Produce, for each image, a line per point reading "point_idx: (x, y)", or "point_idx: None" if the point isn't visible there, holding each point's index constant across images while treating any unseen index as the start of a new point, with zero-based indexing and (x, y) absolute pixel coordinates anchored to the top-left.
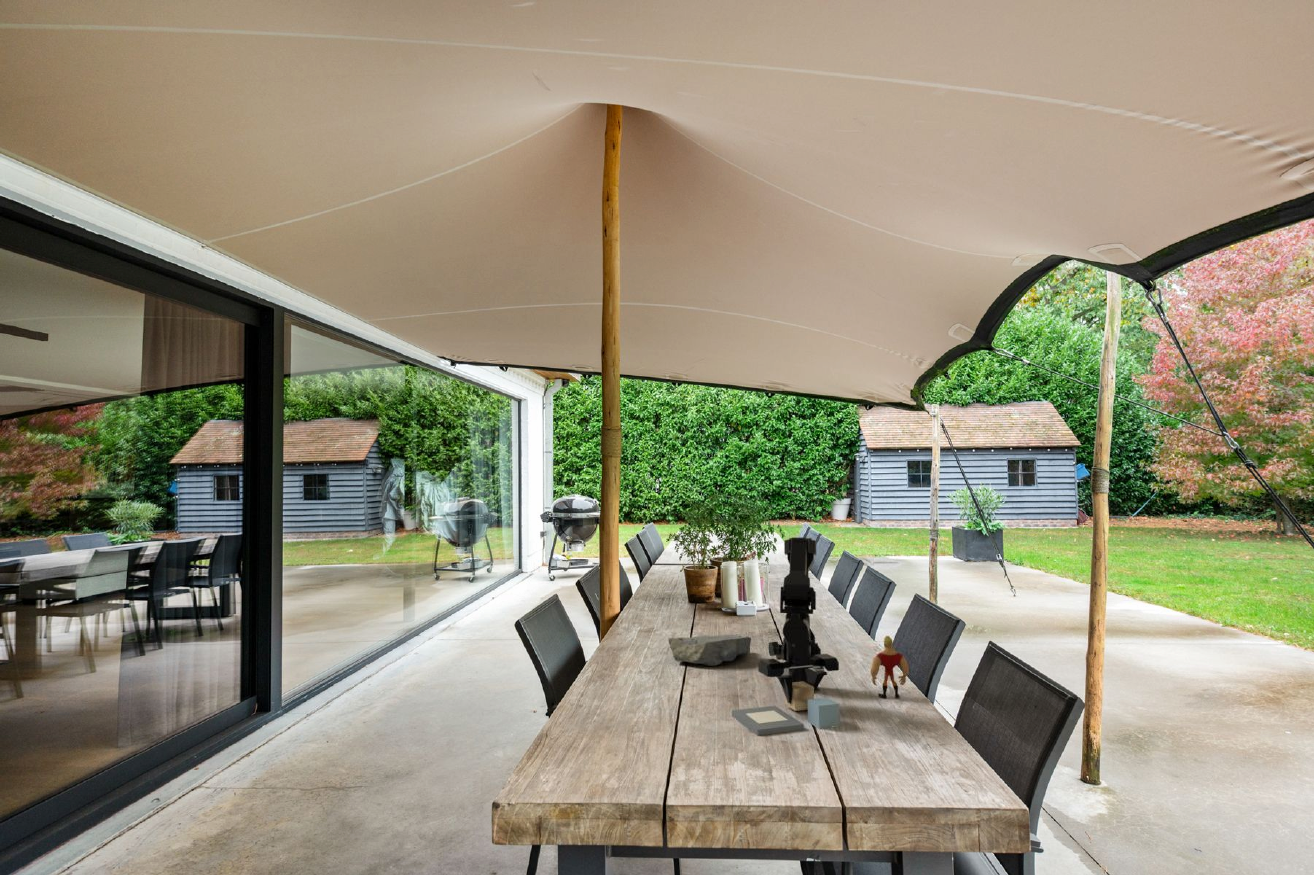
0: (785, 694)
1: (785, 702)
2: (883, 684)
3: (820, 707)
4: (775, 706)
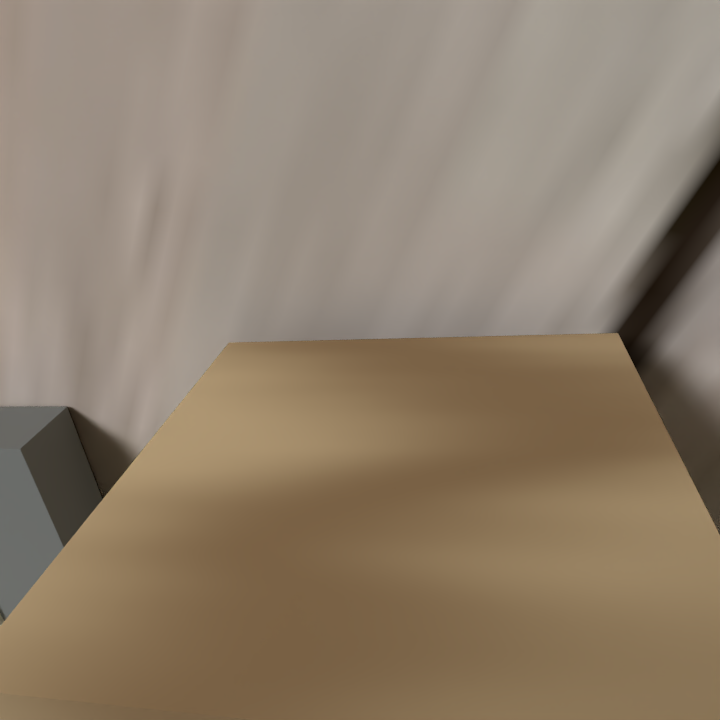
0: None
1: (216, 369)
2: None
3: None
4: (26, 485)
